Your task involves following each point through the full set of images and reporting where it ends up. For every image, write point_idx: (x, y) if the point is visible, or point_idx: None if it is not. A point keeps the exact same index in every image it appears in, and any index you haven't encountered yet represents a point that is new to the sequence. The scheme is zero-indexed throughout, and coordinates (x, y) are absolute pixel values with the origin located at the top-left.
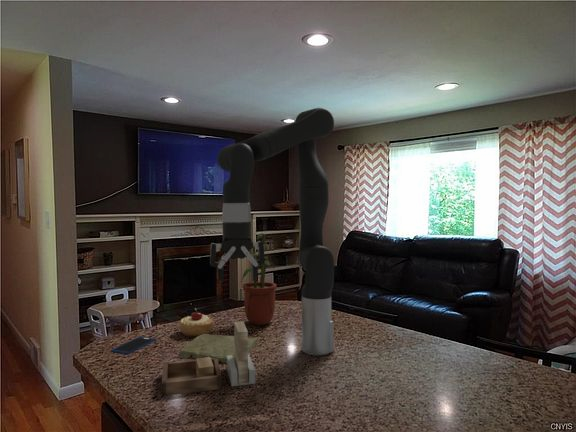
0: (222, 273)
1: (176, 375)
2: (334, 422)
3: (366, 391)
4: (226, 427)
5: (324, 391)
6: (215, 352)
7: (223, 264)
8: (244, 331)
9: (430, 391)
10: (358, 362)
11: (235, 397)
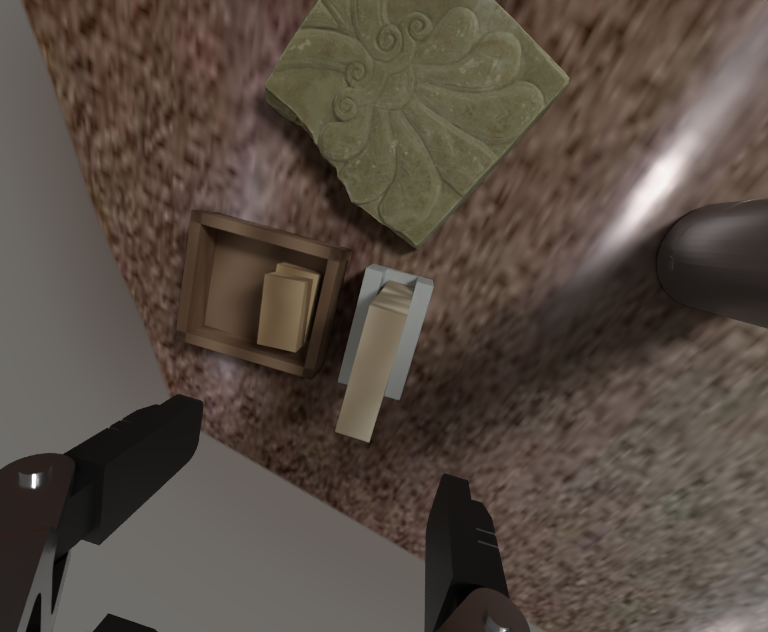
0: (130, 507)
1: (238, 239)
2: None
3: (613, 528)
4: (291, 483)
5: (530, 479)
6: (363, 171)
7: (51, 599)
8: (358, 436)
9: (737, 601)
10: (744, 404)
11: (343, 399)
